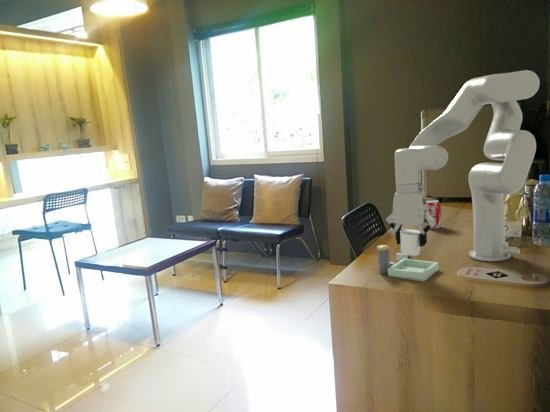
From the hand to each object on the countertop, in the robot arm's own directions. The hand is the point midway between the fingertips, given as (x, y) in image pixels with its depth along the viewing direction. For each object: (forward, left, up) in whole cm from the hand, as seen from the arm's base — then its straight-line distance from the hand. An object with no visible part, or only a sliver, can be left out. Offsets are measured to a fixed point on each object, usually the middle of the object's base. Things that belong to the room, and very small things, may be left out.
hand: (411, 244), depth 136 cm
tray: (0, 0, -10) cm, 10 cm away
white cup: (+1, 0, -3) cm, 3 cm away
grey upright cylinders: (+8, -5, -10) cm, 14 cm away
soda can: (+16, -58, -10) cm, 61 cm away
